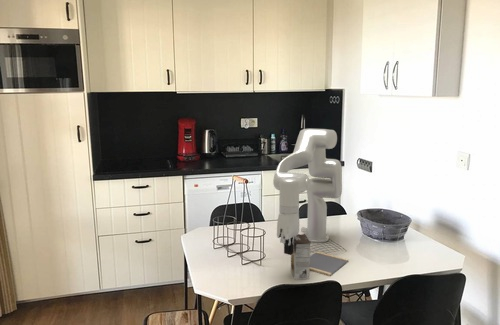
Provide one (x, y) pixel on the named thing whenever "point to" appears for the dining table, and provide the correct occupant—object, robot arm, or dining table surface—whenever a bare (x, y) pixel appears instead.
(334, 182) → the robot arm
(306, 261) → the coffee box
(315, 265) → the mat
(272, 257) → the dining table surface
